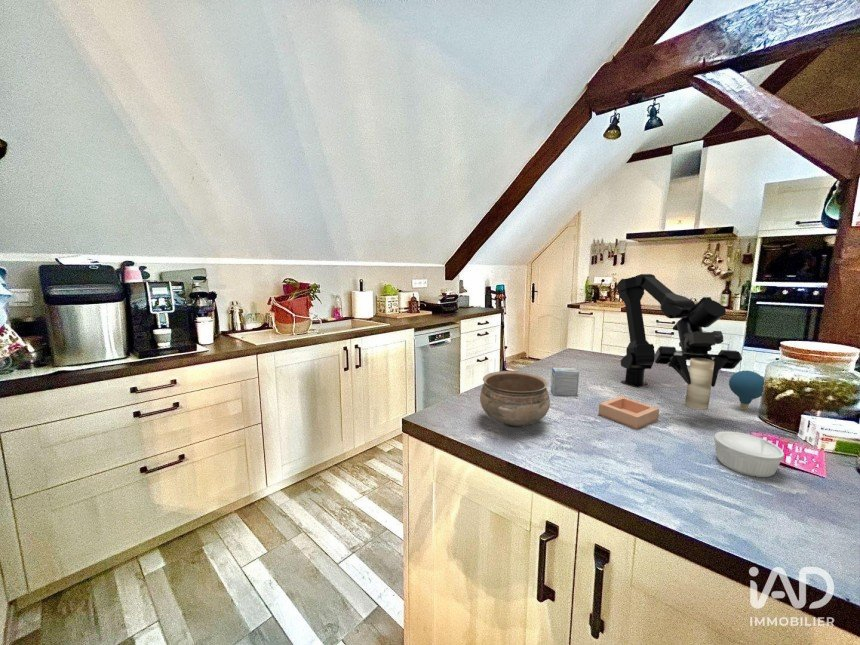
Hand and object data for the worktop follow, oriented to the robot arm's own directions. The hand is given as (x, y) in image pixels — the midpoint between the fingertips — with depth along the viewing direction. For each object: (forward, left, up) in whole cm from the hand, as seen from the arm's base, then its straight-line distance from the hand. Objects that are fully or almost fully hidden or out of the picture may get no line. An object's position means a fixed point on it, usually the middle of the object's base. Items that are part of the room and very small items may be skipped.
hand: (701, 384), depth 92 cm
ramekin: (+12, +14, -12) cm, 22 cm away
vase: (-1, -1, -7) cm, 7 cm away
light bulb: (-25, +2, -12) cm, 28 cm away
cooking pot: (+40, -28, -12) cm, 50 cm away
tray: (+10, -13, -12) cm, 20 cm away
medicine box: (+10, -35, -12) cm, 38 cm away
